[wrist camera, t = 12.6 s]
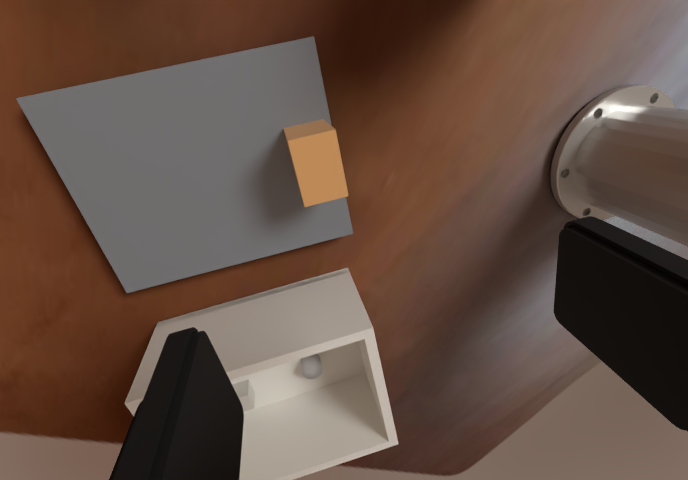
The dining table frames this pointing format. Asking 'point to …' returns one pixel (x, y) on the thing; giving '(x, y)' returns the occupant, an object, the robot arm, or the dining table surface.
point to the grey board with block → (199, 161)
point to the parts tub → (294, 375)
